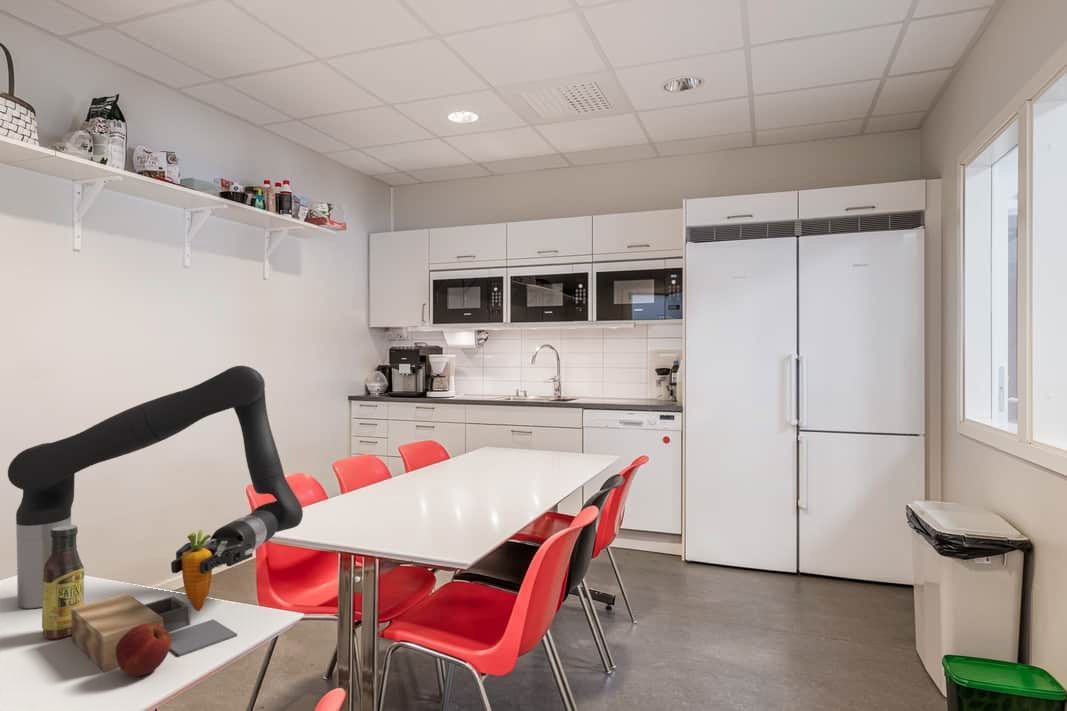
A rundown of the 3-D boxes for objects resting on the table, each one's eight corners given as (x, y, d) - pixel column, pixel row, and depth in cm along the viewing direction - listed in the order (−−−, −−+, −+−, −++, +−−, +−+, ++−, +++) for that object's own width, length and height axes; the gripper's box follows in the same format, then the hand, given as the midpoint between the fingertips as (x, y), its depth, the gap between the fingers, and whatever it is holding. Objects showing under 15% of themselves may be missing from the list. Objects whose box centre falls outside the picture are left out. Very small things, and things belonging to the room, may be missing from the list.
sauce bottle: (61, 642, 114) (59, 533, 114) (33, 639, 115) (31, 532, 115) (93, 626, 121) (91, 523, 120) (66, 624, 122) (64, 522, 122)
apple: (148, 685, 99) (147, 635, 99) (103, 683, 100) (102, 633, 100) (179, 662, 106) (178, 615, 106) (136, 660, 107) (136, 614, 107)
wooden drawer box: (71, 640, 115) (71, 608, 115) (169, 611, 127) (169, 581, 127) (104, 672, 103) (103, 636, 103) (208, 636, 116) (207, 604, 116)
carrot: (200, 603, 119) (197, 525, 118) (219, 607, 117) (217, 527, 117) (176, 614, 114) (174, 533, 114) (196, 618, 112) (194, 535, 112)
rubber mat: (157, 639, 115) (156, 637, 115) (213, 621, 122) (213, 619, 122) (179, 656, 108) (179, 654, 108) (237, 635, 116) (237, 633, 116)
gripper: (206, 519, 130) (149, 547, 113) (272, 520, 129) (225, 547, 112) (207, 555, 130) (150, 588, 113) (273, 556, 129) (226, 589, 112)
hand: (188, 567), depth 113 cm, fingers closed on carrot, 4 cm apart
